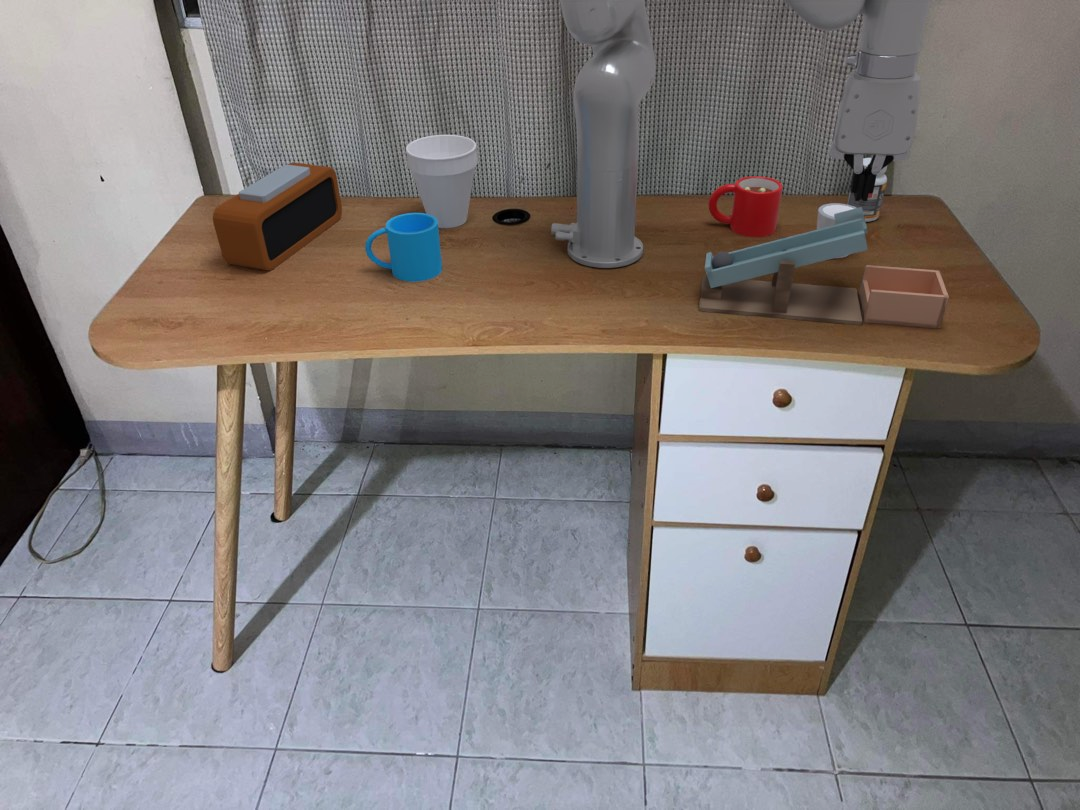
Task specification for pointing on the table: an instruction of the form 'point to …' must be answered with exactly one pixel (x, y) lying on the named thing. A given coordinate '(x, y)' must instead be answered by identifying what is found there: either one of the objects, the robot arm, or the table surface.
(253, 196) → the alarm clock
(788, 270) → the launcher base
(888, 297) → the pink open box
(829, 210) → the white cylinder
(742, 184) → the mug
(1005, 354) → the table surface
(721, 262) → the ball
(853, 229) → the lever
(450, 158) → the white flower pot
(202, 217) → the table surface
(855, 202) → the pill bottle
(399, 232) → the mug
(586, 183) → the robot arm
